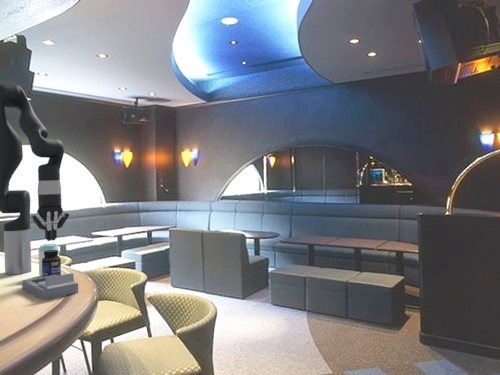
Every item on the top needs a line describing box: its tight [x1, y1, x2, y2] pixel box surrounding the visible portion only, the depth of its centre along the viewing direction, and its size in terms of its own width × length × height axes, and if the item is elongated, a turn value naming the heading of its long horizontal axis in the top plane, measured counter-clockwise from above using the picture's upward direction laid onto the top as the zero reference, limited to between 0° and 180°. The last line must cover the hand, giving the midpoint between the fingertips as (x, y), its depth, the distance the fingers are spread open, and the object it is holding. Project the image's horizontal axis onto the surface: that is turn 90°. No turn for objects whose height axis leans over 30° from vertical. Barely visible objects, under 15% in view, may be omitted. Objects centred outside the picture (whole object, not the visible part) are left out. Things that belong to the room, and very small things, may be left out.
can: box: [38, 243, 60, 277], centre depth 151 cm, size 7×7×12 cm
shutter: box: [38, 272, 75, 289], centre depth 125 cm, size 8×8×3 cm
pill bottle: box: [41, 250, 62, 277], centre depth 143 cm, size 6×6×11 cm
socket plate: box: [21, 275, 79, 301], centre depth 129 cm, size 19×11×3 cm, turn 46°
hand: (51, 240), depth 143 cm, fingers closed
